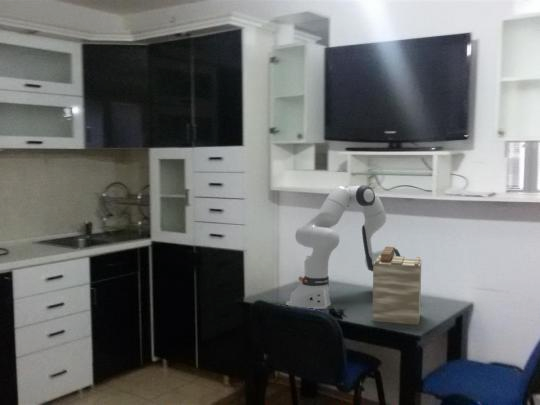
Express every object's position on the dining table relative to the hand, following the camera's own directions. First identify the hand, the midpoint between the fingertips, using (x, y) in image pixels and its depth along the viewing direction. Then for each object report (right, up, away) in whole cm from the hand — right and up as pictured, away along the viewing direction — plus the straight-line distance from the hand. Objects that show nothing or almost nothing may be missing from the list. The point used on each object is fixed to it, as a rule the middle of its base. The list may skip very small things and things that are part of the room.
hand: (391, 257), depth 277 cm
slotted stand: (-2, -25, -22) cm, 33 cm away
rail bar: (-5, +1, -17) cm, 18 cm away
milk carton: (-37, -21, +32) cm, 53 cm away
